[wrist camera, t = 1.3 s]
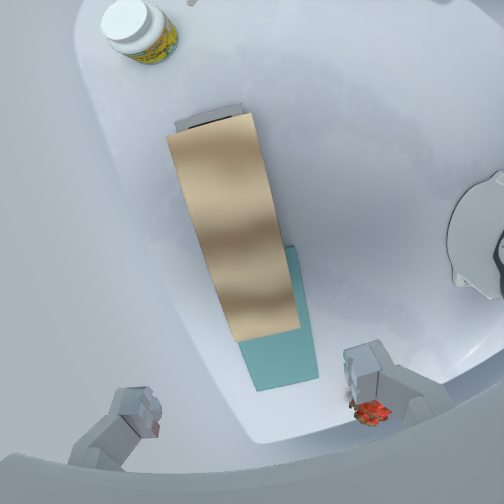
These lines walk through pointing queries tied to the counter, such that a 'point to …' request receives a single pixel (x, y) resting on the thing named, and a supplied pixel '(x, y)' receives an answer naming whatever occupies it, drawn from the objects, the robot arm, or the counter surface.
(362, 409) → the dragon fruit
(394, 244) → the counter surface
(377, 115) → the counter surface
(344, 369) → the robot arm
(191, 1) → the key chain
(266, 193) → the oak lid
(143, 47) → the supplement bottle
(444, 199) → the counter surface
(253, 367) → the teal mat
